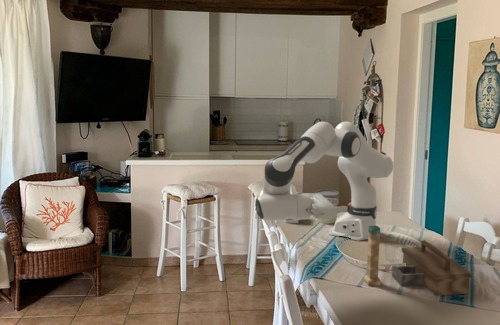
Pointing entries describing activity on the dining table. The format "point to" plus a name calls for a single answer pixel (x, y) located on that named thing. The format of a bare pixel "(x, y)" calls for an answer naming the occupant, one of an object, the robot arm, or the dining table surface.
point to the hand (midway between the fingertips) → (341, 204)
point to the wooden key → (373, 256)
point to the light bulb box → (291, 221)
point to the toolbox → (432, 271)
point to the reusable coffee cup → (333, 195)
